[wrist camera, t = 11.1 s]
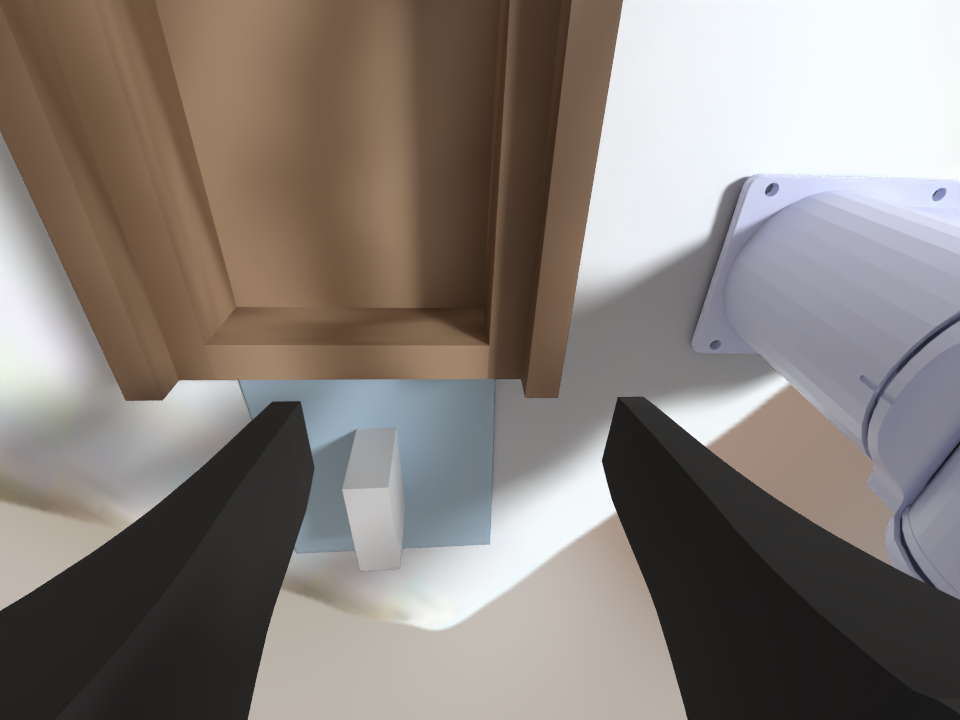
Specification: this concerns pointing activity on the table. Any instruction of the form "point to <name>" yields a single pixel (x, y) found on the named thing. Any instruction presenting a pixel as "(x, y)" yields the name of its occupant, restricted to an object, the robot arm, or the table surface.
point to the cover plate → (425, 446)
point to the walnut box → (313, 180)
